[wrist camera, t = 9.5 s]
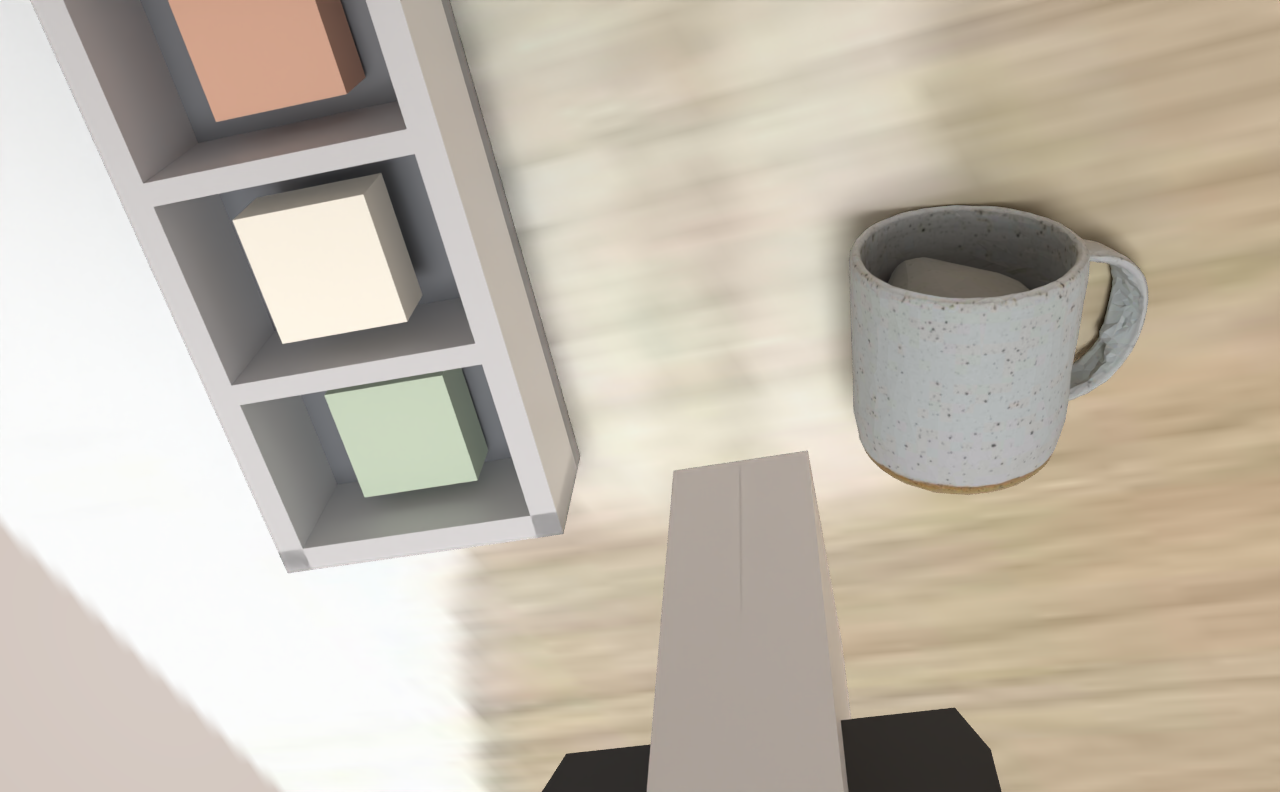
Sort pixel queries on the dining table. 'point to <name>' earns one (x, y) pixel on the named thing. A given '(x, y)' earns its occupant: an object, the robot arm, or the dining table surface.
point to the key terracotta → (268, 52)
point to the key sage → (410, 432)
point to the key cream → (329, 258)
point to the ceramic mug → (977, 341)
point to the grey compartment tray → (304, 370)
